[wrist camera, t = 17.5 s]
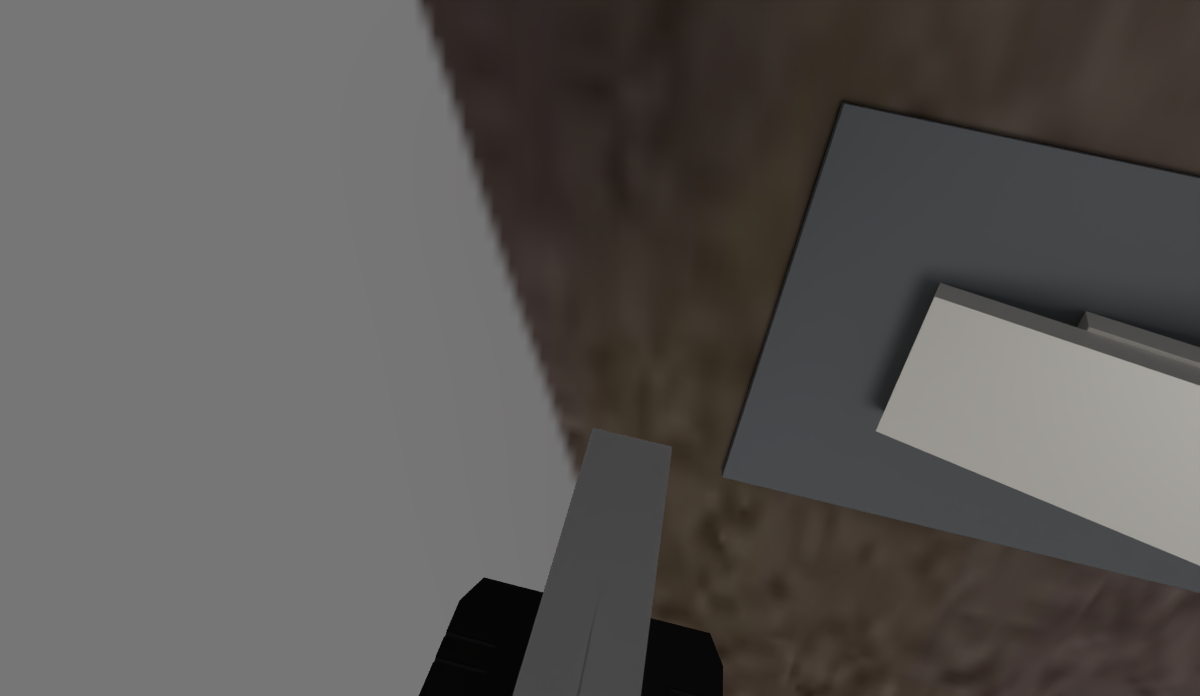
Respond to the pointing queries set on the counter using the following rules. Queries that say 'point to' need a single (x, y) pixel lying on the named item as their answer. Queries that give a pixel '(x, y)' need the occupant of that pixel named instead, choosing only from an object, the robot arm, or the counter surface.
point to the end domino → (1056, 416)
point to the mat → (974, 264)
